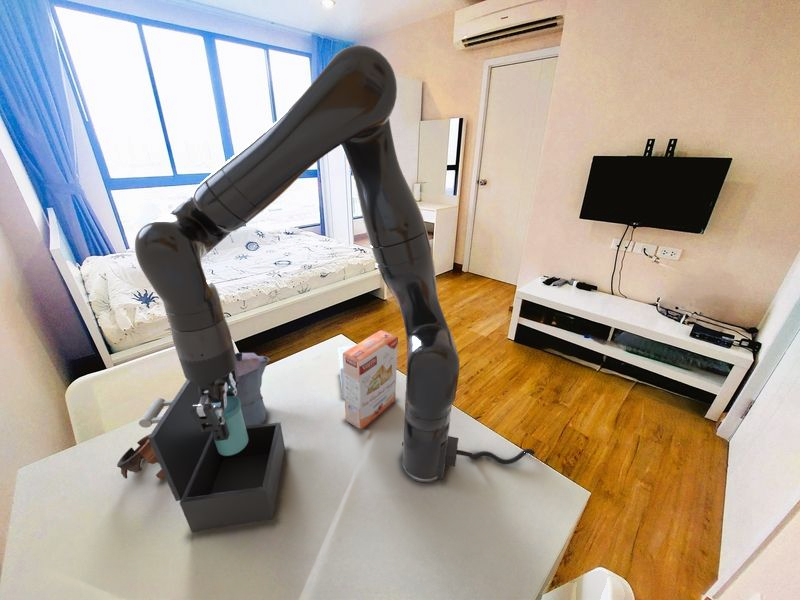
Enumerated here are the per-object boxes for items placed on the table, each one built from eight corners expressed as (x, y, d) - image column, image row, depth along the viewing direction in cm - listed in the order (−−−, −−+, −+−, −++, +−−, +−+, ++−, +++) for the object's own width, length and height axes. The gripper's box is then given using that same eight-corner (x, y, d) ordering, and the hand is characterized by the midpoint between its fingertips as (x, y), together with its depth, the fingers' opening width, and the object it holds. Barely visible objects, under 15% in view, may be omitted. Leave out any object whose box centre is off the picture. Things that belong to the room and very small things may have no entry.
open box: (285, 450, 73) (280, 422, 69) (273, 521, 59) (265, 490, 55) (221, 458, 71) (212, 429, 67) (192, 534, 57) (179, 502, 53)
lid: (196, 371, 61) (165, 374, 60) (153, 437, 47) (113, 442, 46) (213, 427, 67) (186, 430, 66) (181, 500, 53) (146, 505, 52)
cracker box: (362, 432, 78) (359, 362, 69) (344, 421, 81) (340, 352, 72) (397, 401, 88) (399, 335, 79) (380, 391, 91) (380, 328, 83)
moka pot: (283, 421, 81) (272, 355, 72) (214, 449, 73) (193, 378, 64) (273, 398, 88) (262, 336, 79) (209, 422, 80) (189, 355, 71)
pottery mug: (152, 497, 63) (118, 473, 60) (139, 488, 69) (107, 466, 66) (203, 442, 71) (175, 418, 68) (187, 438, 77) (161, 416, 74)
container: (255, 435, 61) (246, 398, 57) (235, 459, 56) (224, 421, 53) (231, 429, 62) (220, 393, 59) (209, 452, 58) (196, 415, 54)
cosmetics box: (339, 375, 98) (337, 346, 93) (360, 372, 99) (359, 344, 95) (342, 399, 88) (339, 368, 84) (365, 395, 90) (364, 365, 85)
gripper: (215, 371, 45) (239, 456, 52) (242, 322, 57) (258, 395, 65) (155, 376, 43) (188, 463, 50) (197, 325, 56) (218, 399, 63)
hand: (227, 424), depth 57 cm, fingers closed on container, 5 cm apart
